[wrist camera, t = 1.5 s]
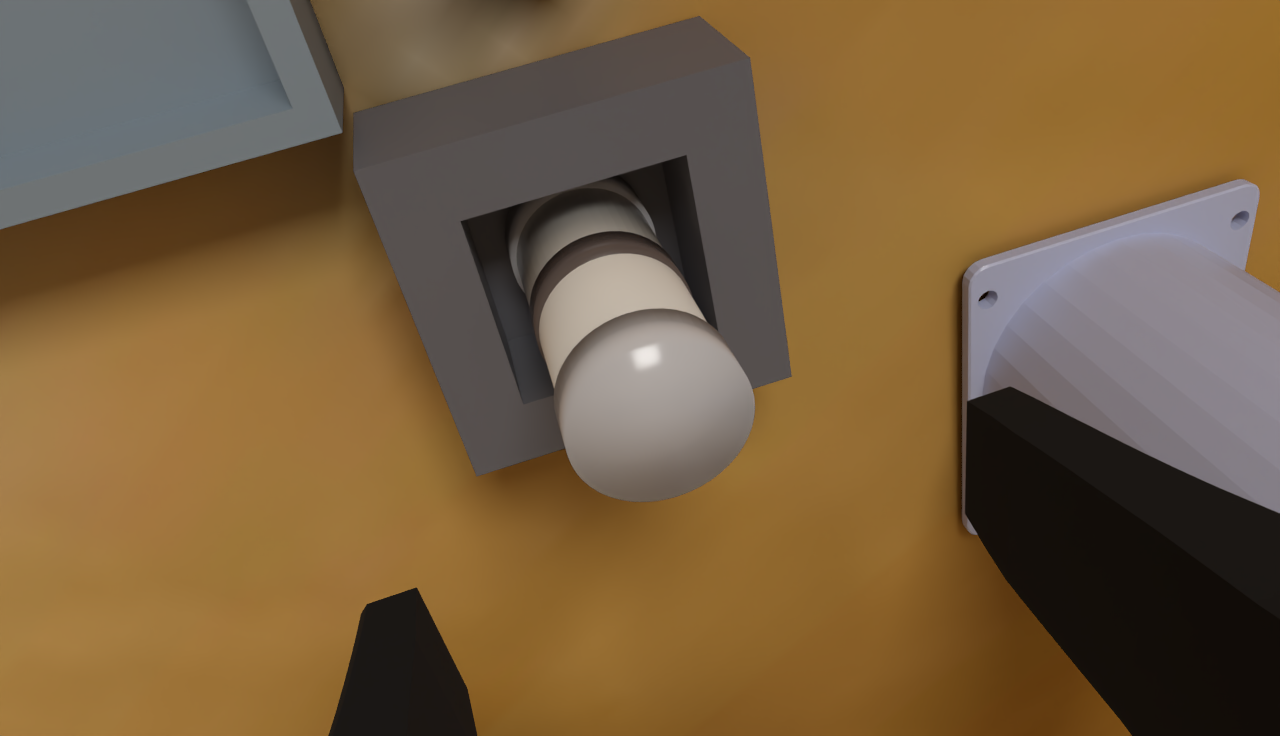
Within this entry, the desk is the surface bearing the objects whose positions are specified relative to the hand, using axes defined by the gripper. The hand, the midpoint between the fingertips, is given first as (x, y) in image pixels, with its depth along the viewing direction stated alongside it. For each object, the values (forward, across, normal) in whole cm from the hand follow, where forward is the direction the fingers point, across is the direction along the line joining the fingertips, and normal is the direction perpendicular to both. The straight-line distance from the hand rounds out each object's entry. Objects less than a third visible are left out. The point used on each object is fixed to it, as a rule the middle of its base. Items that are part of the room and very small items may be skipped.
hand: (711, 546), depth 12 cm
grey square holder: (+10, 0, 0) cm, 10 cm away
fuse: (+10, 0, 0) cm, 10 cm away
